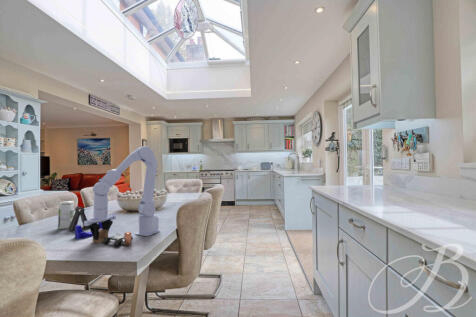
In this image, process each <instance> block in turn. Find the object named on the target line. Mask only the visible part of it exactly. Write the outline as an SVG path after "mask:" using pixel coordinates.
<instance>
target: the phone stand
mask: <svg viewBox="0 0 476 317" xmlns="http://www.w3.org/2000/svg"><path fill="white" fill-rule="evenodd" d="M85 210H86V209H85V207H82V206H76V207H74V216H73V219H72V221H71V224H70V226H69V228H68V230H69V231H70V232H71V233H72V232H73V231H74V232H75V225H78V223H79V220H80V219H81V222H82V226H81V228H82V230H83V231H84V230H90V228H89V227H88V226H84V221H87V220H88V218H87V216H86V213H85V212H86V211H85ZM74 232H73V233H74Z"/></svg>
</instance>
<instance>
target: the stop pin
mask: <svg viewBox="0 0 476 317" xmlns="http://www.w3.org/2000/svg"><path fill="white" fill-rule="evenodd" d="M123 235H124V239H122V240H121V241H122V243H121V244H124V246H127V247H129V246H131V245H132V242H131V236H132V232H131V231H126V232H124V234H123Z"/></svg>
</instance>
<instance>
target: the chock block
mask: <svg viewBox="0 0 476 317" xmlns="http://www.w3.org/2000/svg"><path fill="white" fill-rule="evenodd" d="M106 237H109V232H108V230H106V229H99V237H98V240H94V238H93V237H92V243H97V244H103V239H104V238H106Z"/></svg>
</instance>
